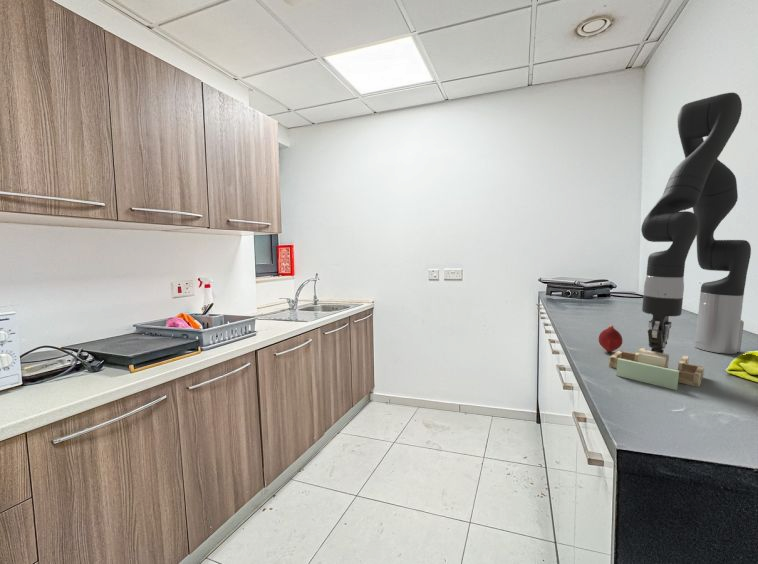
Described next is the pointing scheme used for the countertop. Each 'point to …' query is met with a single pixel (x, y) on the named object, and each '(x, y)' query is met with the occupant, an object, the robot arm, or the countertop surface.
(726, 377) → the countertop surface
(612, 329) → the onion
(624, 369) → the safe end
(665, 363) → the block
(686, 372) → the channel
